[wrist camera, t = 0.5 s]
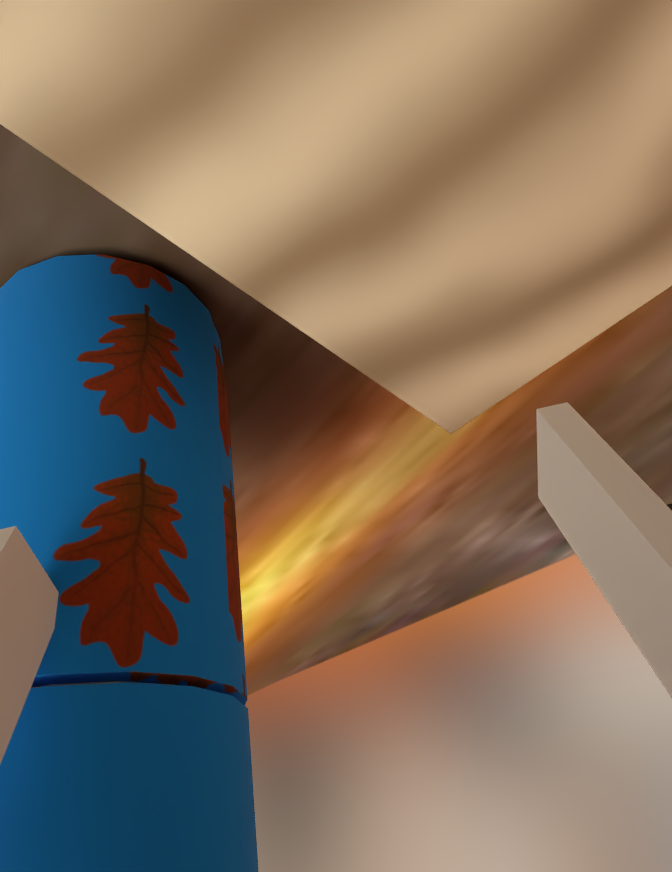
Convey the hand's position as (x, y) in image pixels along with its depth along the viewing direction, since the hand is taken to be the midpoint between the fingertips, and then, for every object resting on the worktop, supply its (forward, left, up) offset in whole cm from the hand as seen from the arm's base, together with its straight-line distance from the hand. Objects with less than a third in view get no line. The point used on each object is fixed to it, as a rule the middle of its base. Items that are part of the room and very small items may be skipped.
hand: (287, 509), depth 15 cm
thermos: (+5, -8, -15) cm, 18 cm away
